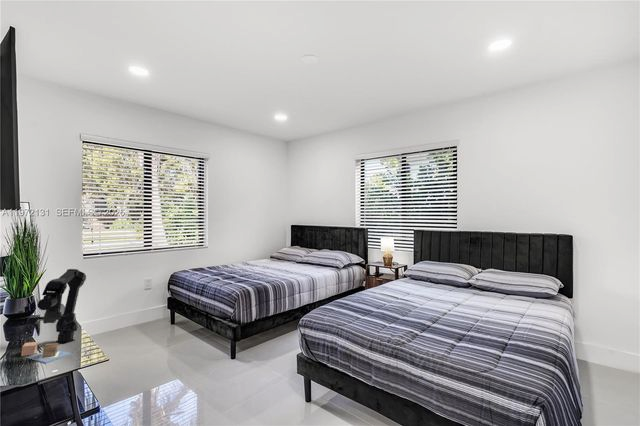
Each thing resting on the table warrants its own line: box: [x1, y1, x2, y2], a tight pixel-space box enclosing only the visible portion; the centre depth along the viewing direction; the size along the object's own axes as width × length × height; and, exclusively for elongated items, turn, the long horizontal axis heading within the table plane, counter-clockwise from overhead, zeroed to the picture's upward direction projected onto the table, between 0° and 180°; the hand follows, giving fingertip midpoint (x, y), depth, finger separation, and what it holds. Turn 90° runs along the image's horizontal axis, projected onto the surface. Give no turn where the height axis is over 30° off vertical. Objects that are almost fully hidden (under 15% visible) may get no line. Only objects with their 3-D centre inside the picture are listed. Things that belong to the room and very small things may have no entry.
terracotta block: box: [20, 341, 39, 357], centre depth 162 cm, size 5×5×5 cm
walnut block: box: [42, 342, 59, 358], centre depth 161 cm, size 5×5×5 cm
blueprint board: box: [26, 349, 72, 364], centre depth 161 cm, size 12×13×1 cm
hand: (50, 334), depth 161 cm, fingers open, 9 cm apart
